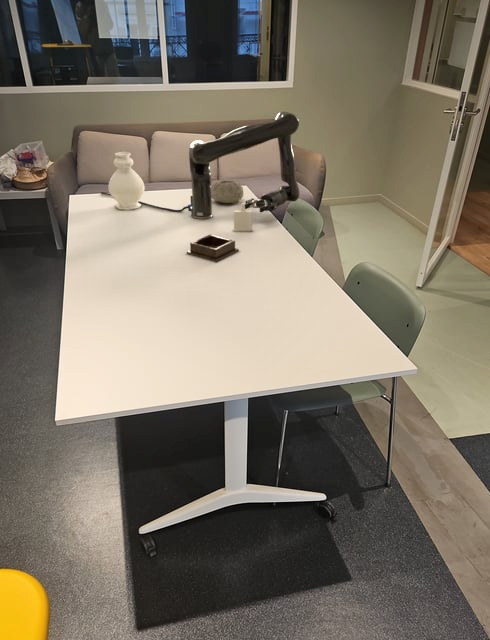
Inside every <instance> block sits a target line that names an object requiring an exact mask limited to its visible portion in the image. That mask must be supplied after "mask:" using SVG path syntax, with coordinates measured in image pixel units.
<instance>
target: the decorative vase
mask: <svg viewBox="0 0 490 640" xmlns="http://www.w3.org/2000/svg"><path fill="white" fill-rule="evenodd" d="M131 155H132V154H131V152H129V151H119V152H115V153H114V157H116V158H114V160H113V165H114V166H115V167H116V168H117V169H116V170H115V172H114V173H113V174H112V175H111V177H110V179H109V181H108V186H107V187H108V189H107V190H108V193H110V194H111V195H112V196H111V195H110V196H111V197H112V198H113V199H114V200H115V201H116V202H117V203H116V205H115V208H117V209H118V210H123V211H128V210H137V209H140V208H141V207H142V204H140V203H138V201H141V199H142V197H143V195H144V193H145V189H146V187H145V183H144V181H143V179H142V178H141V176H140V175H139V174H138V173H137V172H136V171H135V170H134V169H133V168H132V167H133V166H134V160H133V158H131Z"/></svg>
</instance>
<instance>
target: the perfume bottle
mask: <svg viewBox="0 0 490 640" xmlns="http://www.w3.org/2000/svg"><path fill="white" fill-rule="evenodd" d="M245 203H246V202H241V205H240V210H234V211H233V231H234V232H252V230H253V211H252V210H247V209H245Z"/></svg>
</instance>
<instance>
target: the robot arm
mask: <svg viewBox="0 0 490 640" xmlns="http://www.w3.org/2000/svg"><path fill="white" fill-rule="evenodd" d="M299 126H300V121H299V118H298V117H297V115H295V114H294V113H292V112H289V111H280V112H279V113H278V114H277V115H276V117H275V119H273V120H271V121H268V122H261V123H254V124H248V125H244V126H242V127H239V128H236V129H233V130H232V131H230V132H228V133H226V135H224V136H223V137H221V138H218V139H216V140H211V141H207V142H205V141H203V140H194V141H193V142H192V143H191V144H190V146H189V149H188V157H189V172H190V178H191V179H190V180H191V181H190V182H191V195H190V204H187V205H186V206H183V207H182V208H181V209H172V208H167V207H162V206H157V205H153V204H149V203H146V202H143V201H141V200H139V201H138V203H140V204H141V205H144V206H147V207H150V208H154V209H158V210H163V211H169V212H173V213H182V212H183V211H185V210H186V209H188V210H187V211H188V212H190V216H191V217H193V218H194V219H198V220H207V219H211V218H212V217H213V204H212V203H213V199H212V194H211V187H212V172H211V168H210V163H212V162H214V161H215V160H218V159H221V158H222V157H226V156H228V155H232V154H236V153H239V152H242V151H246V150H249V149H252V148H253V147H257V146H258V145H261V144H264V143H266V142H269V141H271V140H275V139H277V143H278V150H279V163H280V179H281V181H282V182H284V183H286V184H287V185H281V186H279V187H278V188H277V189H276V190H274V191H269V192H267V193H265V194H262V195H261V196H260V198H258V199H255V198H250V199H247V200H245V202H244V203H245V210H247V209H248V210H249V209H250V208H251V209H252V208H253V209H259V213H263V212H270V213H271V212H273V211H275V210H277V208H278V207H279V206H282V205H284V204H285V203H286V202H296V201H298V199H299V198H300V194H301V193H300V188H299V184H298V181H297V177H296V161H295V155H294V151H293V147H292V146H293V145H292V135H293V134H295V133H297V130H298V129H299ZM100 194H101V195H105V196H106V195H107V196H111V197H112V195H111V194H110V192H104V191H101V192H100Z"/></svg>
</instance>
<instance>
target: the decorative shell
mask: <svg viewBox="0 0 490 640" xmlns="http://www.w3.org/2000/svg"><path fill="white" fill-rule="evenodd" d="M211 194H212V200H214V201H216V202H218V203H222V204H234V203H238V202H239V201H241V200H242V199H243V197H244V187H243V186H242V185H241V184H240V182H237V181H235V180H232V179H229V180H228V179H227V180H220V181H217V182H215V183H213V185H211Z"/></svg>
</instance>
